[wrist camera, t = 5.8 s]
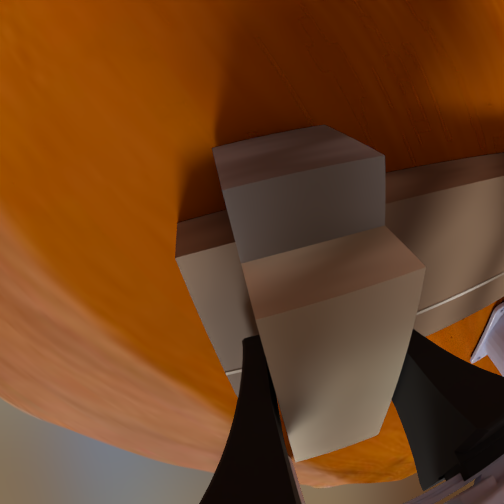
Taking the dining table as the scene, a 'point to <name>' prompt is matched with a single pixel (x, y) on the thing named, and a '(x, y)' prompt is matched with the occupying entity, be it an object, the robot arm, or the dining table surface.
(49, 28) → the dining table surface
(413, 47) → the dining table surface
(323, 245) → the stepped beige block
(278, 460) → the robot arm
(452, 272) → the plank
